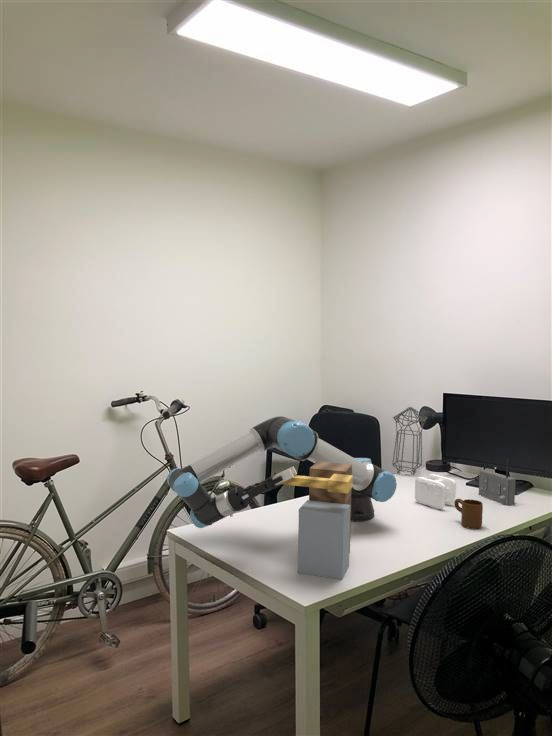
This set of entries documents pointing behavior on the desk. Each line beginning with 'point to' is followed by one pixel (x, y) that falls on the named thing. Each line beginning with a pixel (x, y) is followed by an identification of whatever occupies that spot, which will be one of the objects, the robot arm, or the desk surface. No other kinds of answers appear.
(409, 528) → the desk surface
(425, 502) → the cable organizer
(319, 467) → the walnut post
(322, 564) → the grey stand
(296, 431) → the robot arm
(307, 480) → the handle bar
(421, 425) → the geometric lantern
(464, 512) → the mug
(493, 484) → the electronic device
